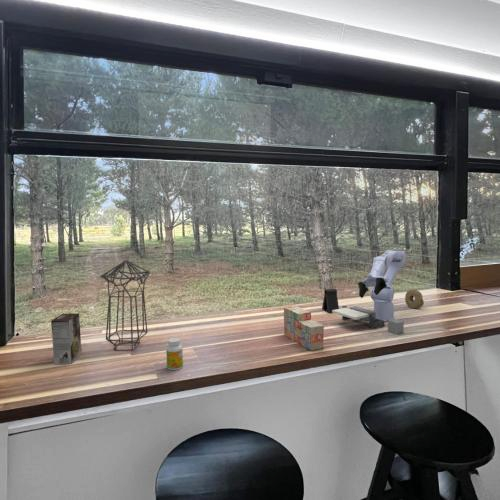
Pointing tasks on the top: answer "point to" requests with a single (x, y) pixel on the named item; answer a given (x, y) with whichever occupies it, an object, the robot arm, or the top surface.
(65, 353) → the coffee box
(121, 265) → the geometric lantern
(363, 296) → the robot arm
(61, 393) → the top surface
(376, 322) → the frame
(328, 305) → the phone stand
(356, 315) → the trapdoor
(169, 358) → the supplement bottle
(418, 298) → the stone disc
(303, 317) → the stack of blocks
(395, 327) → the stone block
